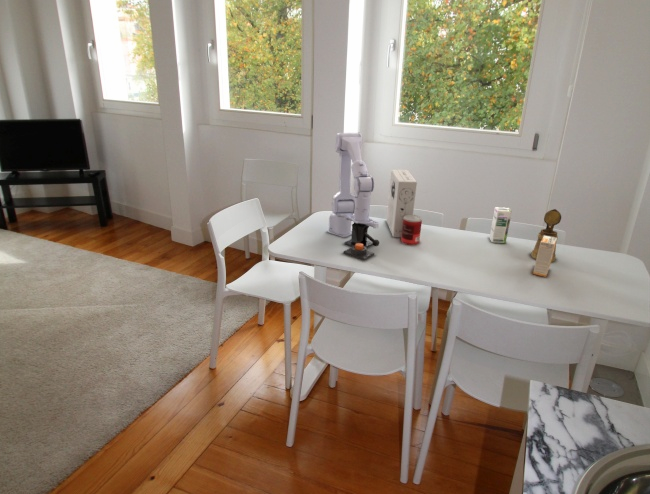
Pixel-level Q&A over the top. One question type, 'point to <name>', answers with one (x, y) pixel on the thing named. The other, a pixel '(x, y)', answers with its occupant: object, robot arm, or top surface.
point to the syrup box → (500, 225)
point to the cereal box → (400, 199)
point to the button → (359, 246)
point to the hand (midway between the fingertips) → (359, 240)
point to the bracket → (354, 241)
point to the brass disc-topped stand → (548, 231)
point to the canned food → (411, 229)
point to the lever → (372, 240)
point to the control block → (359, 253)
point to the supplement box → (544, 255)
